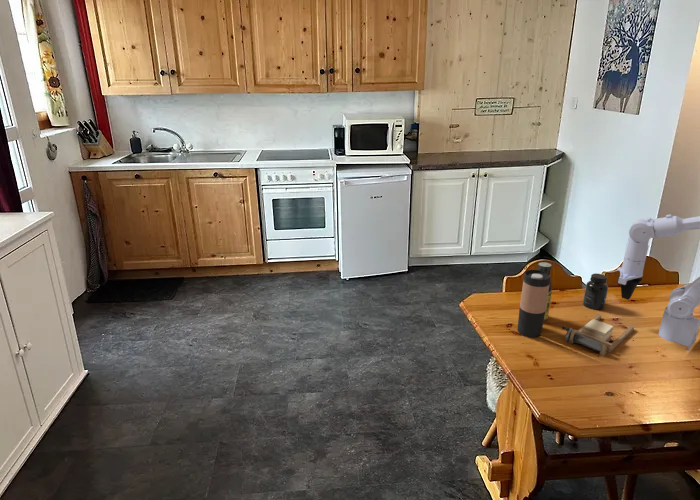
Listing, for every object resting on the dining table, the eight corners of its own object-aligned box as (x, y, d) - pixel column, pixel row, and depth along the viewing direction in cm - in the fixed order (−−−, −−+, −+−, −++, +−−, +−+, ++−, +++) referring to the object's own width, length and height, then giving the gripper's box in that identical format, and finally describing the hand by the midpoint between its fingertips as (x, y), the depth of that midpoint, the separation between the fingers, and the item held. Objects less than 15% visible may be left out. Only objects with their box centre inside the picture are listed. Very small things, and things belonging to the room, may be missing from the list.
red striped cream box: (610, 340, 148) (613, 326, 146) (602, 348, 144) (605, 333, 142) (590, 332, 152) (592, 318, 150) (581, 340, 148) (584, 325, 147)
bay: (632, 332, 154) (635, 322, 153) (608, 355, 142) (610, 345, 141) (597, 319, 162) (599, 310, 160) (571, 340, 150) (573, 330, 148)
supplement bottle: (607, 312, 166) (614, 280, 162) (587, 312, 166) (593, 280, 162) (598, 302, 173) (604, 272, 168) (578, 302, 173) (584, 271, 168)
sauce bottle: (548, 325, 158) (558, 269, 151) (528, 323, 159) (536, 268, 152) (545, 315, 164) (554, 261, 157) (526, 314, 165) (533, 260, 158)
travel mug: (514, 334, 153) (522, 276, 146) (518, 323, 160) (526, 267, 152) (540, 340, 150) (549, 281, 143) (543, 329, 156) (552, 272, 149)
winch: (607, 355, 142) (610, 340, 141) (601, 360, 140) (604, 345, 138) (563, 337, 151) (566, 323, 149) (557, 342, 149) (560, 328, 147)
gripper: (629, 248, 157) (621, 287, 162) (611, 261, 148) (603, 301, 153) (653, 255, 152) (644, 294, 157) (636, 267, 143) (627, 308, 148)
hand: (625, 298), depth 154 cm, fingers closed
